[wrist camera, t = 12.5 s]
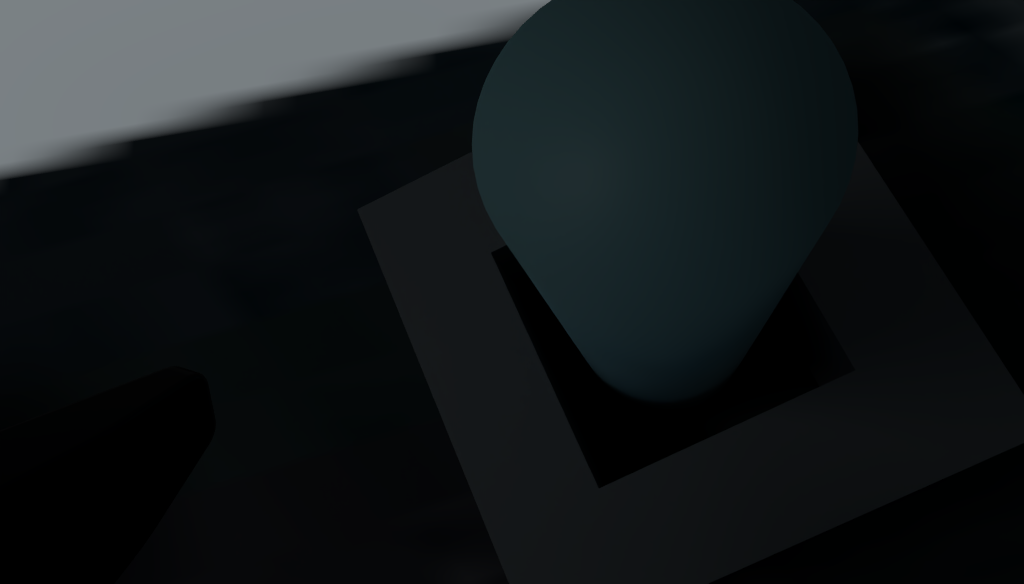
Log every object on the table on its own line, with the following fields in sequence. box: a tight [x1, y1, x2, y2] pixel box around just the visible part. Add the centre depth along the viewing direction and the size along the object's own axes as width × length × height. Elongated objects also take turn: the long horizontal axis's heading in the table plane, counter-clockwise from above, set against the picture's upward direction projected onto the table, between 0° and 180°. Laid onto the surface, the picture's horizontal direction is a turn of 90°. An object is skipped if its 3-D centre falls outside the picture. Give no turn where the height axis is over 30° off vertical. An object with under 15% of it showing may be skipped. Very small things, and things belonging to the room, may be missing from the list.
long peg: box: [472, 0, 858, 415], centre depth 16 cm, size 4×4×14 cm
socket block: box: [358, 142, 1024, 584], centre depth 20 cm, size 12×12×4 cm
